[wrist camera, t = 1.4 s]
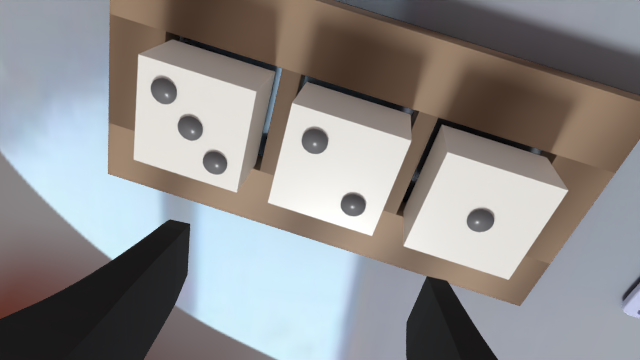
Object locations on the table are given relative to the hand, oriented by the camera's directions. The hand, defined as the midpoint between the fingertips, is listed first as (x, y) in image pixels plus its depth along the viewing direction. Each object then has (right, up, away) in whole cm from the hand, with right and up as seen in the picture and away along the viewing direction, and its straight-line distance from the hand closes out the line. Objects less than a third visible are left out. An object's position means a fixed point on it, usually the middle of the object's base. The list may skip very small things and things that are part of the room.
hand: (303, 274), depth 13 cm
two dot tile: (+2, +5, +8) cm, 9 cm away
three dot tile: (-5, +7, +8) cm, 11 cm away
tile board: (+2, +5, +9) cm, 11 cm away
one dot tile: (+8, +3, +8) cm, 12 cm away
